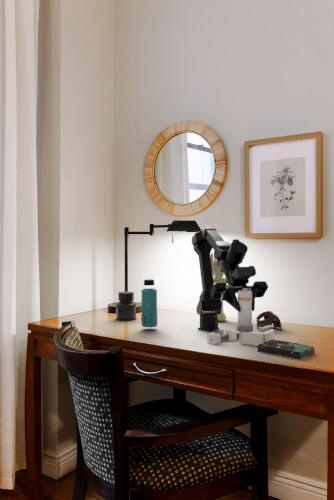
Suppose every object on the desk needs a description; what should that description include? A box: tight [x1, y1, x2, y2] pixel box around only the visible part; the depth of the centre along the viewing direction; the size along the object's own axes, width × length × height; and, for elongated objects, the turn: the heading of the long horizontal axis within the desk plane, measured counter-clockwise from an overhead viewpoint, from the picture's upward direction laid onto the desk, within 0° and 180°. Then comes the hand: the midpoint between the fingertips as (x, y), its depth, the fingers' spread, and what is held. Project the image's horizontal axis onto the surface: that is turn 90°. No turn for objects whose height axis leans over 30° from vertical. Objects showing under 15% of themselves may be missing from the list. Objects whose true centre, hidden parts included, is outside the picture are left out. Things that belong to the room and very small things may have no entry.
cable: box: [212, 332, 239, 342], centre depth 158 cm, size 5×20×1 cm, turn 112°
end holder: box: [238, 329, 275, 347], centre depth 153 cm, size 9×9×4 cm
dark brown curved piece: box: [256, 310, 283, 331], centre depth 176 cm, size 12×10×8 cm
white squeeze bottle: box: [236, 288, 254, 333], centre depth 142 cm, size 5×5×14 cm
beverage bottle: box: [140, 279, 158, 328], centre depth 175 cm, size 6×7×20 cm
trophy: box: [210, 252, 227, 322], centre depth 193 cm, size 8×8×30 cm
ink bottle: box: [115, 291, 137, 321], centre depth 198 cm, size 10×9×12 cm
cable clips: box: [207, 328, 237, 345], centre depth 158 cm, size 4×21×3 cm, turn 125°
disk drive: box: [257, 339, 315, 360], centre depth 140 cm, size 10×3×15 cm
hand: (246, 310), depth 140 cm, fingers closed on white squeeze bottle, 4 cm apart
